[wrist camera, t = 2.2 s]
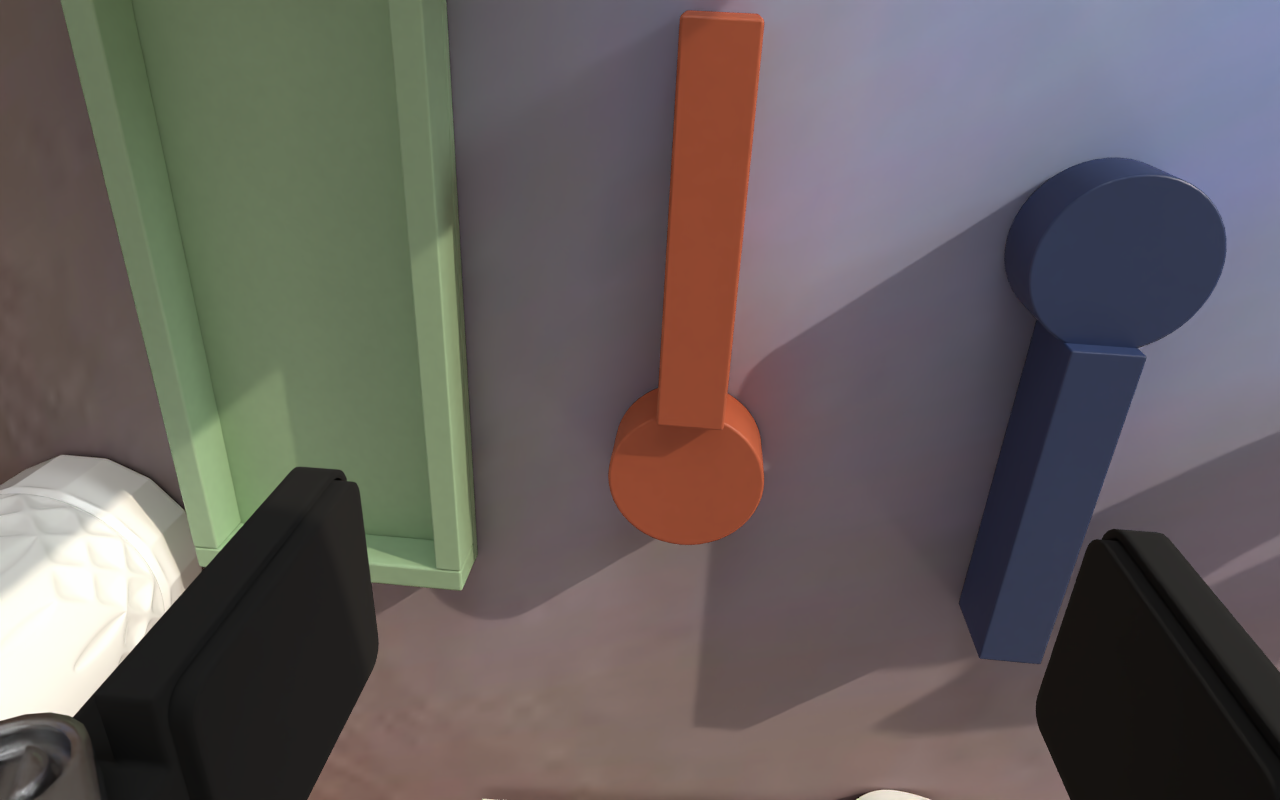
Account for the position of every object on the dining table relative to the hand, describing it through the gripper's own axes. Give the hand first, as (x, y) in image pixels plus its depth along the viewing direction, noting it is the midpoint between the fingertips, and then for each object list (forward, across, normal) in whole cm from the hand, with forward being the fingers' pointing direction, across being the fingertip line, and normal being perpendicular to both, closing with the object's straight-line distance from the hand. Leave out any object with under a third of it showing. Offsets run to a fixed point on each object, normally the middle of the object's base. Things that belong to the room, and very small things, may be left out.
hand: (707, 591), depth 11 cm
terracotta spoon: (+14, 0, +1) cm, 14 cm away
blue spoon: (+13, -10, +2) cm, 17 cm away
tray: (+14, +11, -1) cm, 18 cm away
